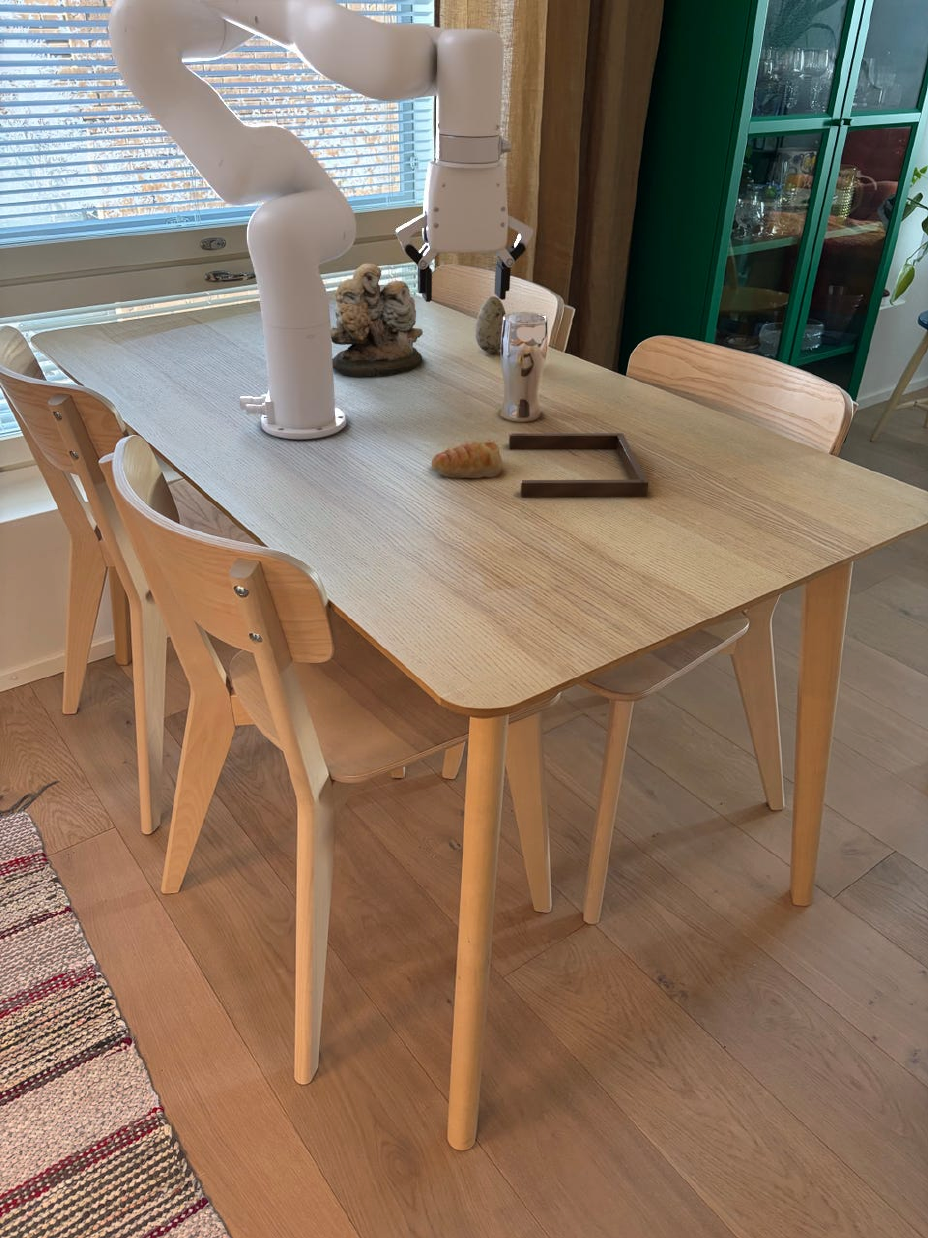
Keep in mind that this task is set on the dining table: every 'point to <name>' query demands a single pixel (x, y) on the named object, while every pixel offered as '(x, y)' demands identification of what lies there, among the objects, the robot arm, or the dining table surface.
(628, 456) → the corral
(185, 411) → the dining table surface
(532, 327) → the beer glass
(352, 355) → the owl figurine
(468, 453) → the pastry
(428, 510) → the dining table surface
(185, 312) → the dining table surface
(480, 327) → the decorative egg
